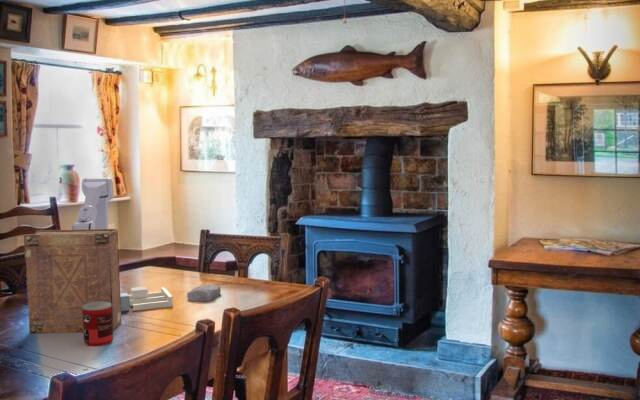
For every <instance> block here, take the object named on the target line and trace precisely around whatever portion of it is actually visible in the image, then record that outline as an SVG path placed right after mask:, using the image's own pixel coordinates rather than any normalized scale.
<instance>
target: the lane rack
mask: <svg viewBox="0 0 640 400" xmlns="http://www.w3.org/2000/svg"><path fill="white" fill-rule="evenodd" d="M160 290H161V291H155V292H148V298H141V299H132V300H131V294H128V295H129V307H132V311H133V312H134V311H135V312H136V311H143V310H144V311H145V310H152V309H154V310H155V309H161V308H170V307H171V308H172V307H174V304H173V303H174V302H173V301H174V300H173V298H174V297H173V295H172V294H171V293H170V292H169V291H168V290H167V289H166V287H160Z"/></svg>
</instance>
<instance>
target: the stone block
mask: <svg viewBox="0 0 640 400" xmlns="http://www.w3.org/2000/svg"><path fill="white" fill-rule="evenodd" d="M186 295H187V296H186V298H187V300H188V301H191V302H192V301H193V302H210V301H212V300H214V299H215V298H217V297H218V296H220V295H221V286H220V285H218V286H217V285H210V284H207V285H206V284H205V285H203V286H202V285H201V286H198V287H195V288H193V289H191V290H190V291H189V292H187V294H186Z"/></svg>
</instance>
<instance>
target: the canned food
mask: <svg viewBox="0 0 640 400" xmlns="http://www.w3.org/2000/svg"><path fill="white" fill-rule="evenodd" d="M82 310H83V329H84V332H83V341H84V344H85V345H87V346H89V347H100V346H105V345H106V346H107V345H109V344H112V342H113V341H114V330H113V325H112V305H111V303H110V302H104V301H99V302H91V303H87V304H84V305H83V308H82Z"/></svg>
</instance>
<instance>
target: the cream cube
mask: <svg viewBox="0 0 640 400" xmlns="http://www.w3.org/2000/svg"><path fill="white" fill-rule="evenodd" d="M148 293H149V292H148V288H147V287H146V286H137V287H131V288H130V295H131V300H132V299H141V298H148Z"/></svg>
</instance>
